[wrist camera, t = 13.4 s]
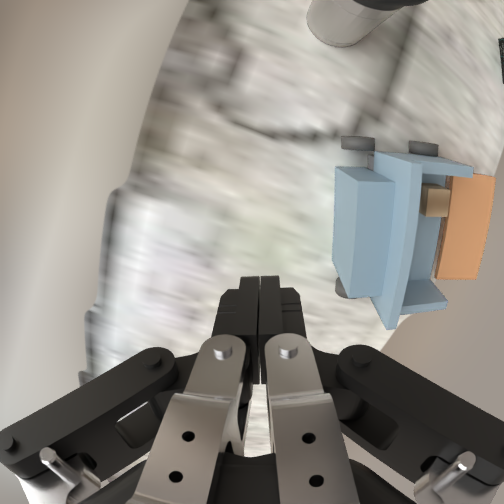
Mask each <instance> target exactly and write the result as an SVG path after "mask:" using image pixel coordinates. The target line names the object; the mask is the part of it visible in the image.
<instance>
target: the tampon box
mask: <svg viewBox="0 0 504 504" xmlns="http://www.w3.org/2000/svg"><path fill="white" fill-rule="evenodd" d="M498 40H499V47H500V55H501V64H502V76H503V84H504V38H501V39H498Z"/></svg>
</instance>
